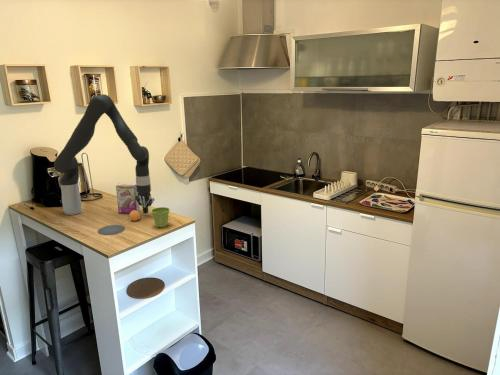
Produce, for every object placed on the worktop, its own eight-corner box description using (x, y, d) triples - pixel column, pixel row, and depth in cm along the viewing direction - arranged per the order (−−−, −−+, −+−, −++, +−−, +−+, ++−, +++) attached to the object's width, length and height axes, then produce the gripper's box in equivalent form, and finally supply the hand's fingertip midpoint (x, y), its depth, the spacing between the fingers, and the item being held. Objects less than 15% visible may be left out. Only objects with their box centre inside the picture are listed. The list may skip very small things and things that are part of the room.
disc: (92, 231, 189) (91, 231, 189) (112, 223, 200) (112, 223, 199) (109, 236, 182) (109, 236, 182) (130, 228, 193) (130, 227, 193)
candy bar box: (118, 213, 215) (115, 185, 211) (121, 210, 220) (119, 183, 216) (137, 213, 214) (134, 186, 210) (140, 211, 219) (138, 183, 215)
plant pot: (151, 223, 199) (150, 208, 197) (169, 221, 202) (168, 206, 200) (153, 230, 191) (152, 213, 188) (172, 227, 194) (171, 211, 192)
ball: (127, 221, 203) (126, 211, 202) (135, 217, 208) (134, 208, 206) (135, 222, 201) (134, 212, 199) (142, 219, 205) (141, 209, 204)
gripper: (129, 183, 206) (132, 213, 211) (147, 186, 200) (149, 217, 205) (139, 180, 213) (141, 209, 217) (157, 183, 206) (159, 213, 211)
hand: (145, 213), depth 211 cm, fingers closed
